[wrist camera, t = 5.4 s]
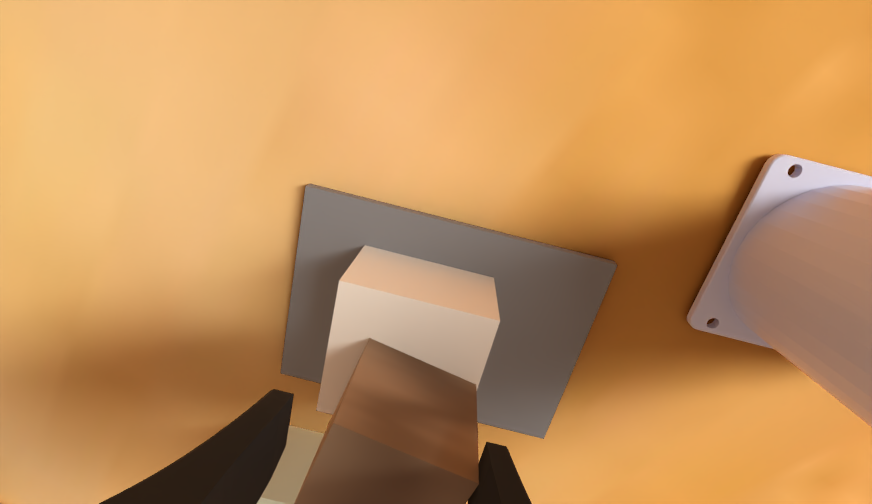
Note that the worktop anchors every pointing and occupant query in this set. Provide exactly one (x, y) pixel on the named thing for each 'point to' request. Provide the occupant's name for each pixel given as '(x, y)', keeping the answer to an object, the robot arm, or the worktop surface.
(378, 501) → the walnut block
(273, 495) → the sage green block
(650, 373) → the worktop surface
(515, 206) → the worktop surface
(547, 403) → the mat
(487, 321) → the off-white block
